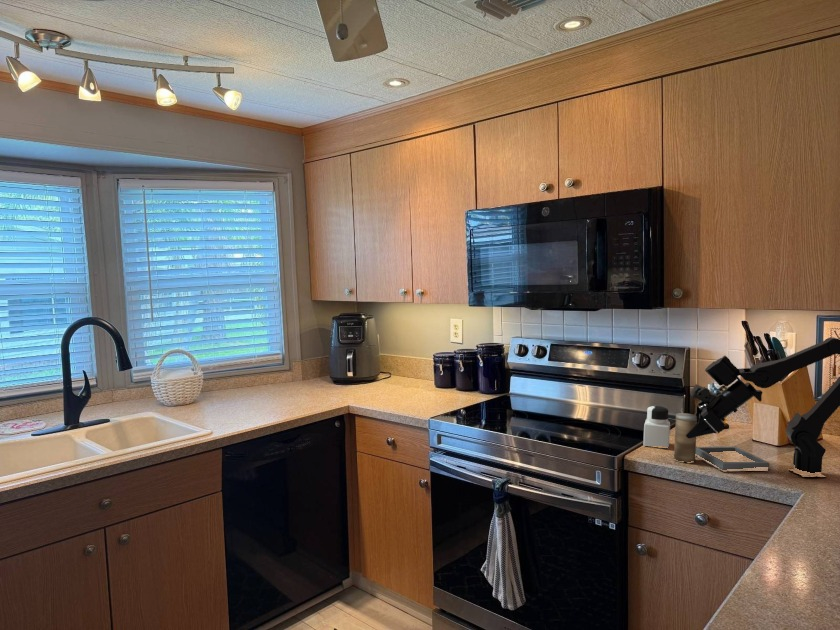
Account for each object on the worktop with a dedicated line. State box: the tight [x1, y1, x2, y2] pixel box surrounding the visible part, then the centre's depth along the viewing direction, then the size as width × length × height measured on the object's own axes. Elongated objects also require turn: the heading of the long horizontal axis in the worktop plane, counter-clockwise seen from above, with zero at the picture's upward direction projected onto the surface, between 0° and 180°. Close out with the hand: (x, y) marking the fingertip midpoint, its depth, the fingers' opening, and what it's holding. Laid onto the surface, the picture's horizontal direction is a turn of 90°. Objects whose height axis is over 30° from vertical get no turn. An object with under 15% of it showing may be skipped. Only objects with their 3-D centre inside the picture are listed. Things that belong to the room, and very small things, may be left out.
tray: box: [695, 446, 770, 470], centre depth 168 cm, size 15×13×2 cm
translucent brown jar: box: [673, 412, 697, 462], centre depth 169 cm, size 6×6×13 cm
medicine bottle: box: [642, 405, 671, 448], centre depth 184 cm, size 7×7×12 cm
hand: (686, 432), depth 169 cm, fingers open, 9 cm apart
